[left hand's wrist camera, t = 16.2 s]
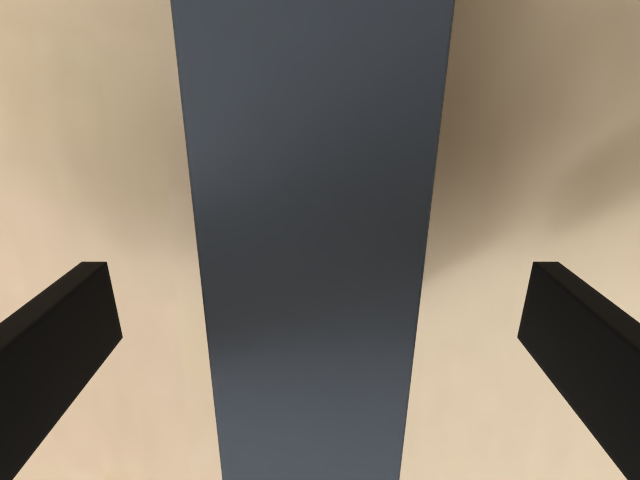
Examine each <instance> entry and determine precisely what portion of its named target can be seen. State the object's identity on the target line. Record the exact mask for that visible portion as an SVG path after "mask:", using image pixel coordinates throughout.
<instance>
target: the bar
mask: <svg viewBox="0 0 640 480" xmlns="http://www.w3.org/2000/svg"><path fill="white" fill-rule="evenodd" d="M170 1H171V10H172V19H173V28H174V38H175V47H176V56H177V65H178V74H179V84H180V93H181V102H182V111H183V120H184V130H185V139H186V148H187V157H188V167H189V176H190V185H191V194H192V203H193V213H194V222H195V231H196V240H197V249H198V259H199V268H200V277H201V286H202V295H203V305H204V314H205V323H206V332H207V341H208V351H209V360H210V369H211V378H212V387H213V397H214V406H215V415H216V424H217V433H218V443H219V452H220V461H221V470H222V479H223V480H399V477H400V469H401V460H402V452H403V443H404V434H405V426H406V417H407V409H408V400H409V391H410V383H411V374H412V366H413V357H414V348H415V340H416V331H417V323H418V314H419V305H420V297H421V288H422V279H423V271H424V262H425V254H426V245H427V236H428V228H429V219H430V211H431V202H432V193H433V185H434V176H435V168H436V159H437V150H438V142H439V133H440V125H441V116H442V107H443V99H444V90H445V82H446V73H447V64H448V56H449V47H450V38H451V30H452V21H453V13H454V4H455V0H170Z"/></svg>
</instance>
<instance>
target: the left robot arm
mask: <svg viewBox="0 0 640 480" xmlns="http://www.w3.org/2000/svg"><path fill="white" fill-rule="evenodd" d="M122 338H123V336H122V332H121V327H120V322H119V318H118V313H117V308H116V303H115V299H114V294H113V289H112V284H111V280H110V275H109V270H108V266H107V262H81V263H80V264H78V265H77V266H76V267H74V268H73V269H72V270H70V271H69V272H68V273H66V274H65V275H64V276H62V277H61V278H60V279H58V280H57V281H56V282H54V283H53V284H52V285H50V286H49V287H48V288H46V289H45V290H44V291H42V292H41V293H40V294H38V295H37V296H36V297H34V298H33V299H32V300H30V301H29V302H28V303H26V304H25V305H24V306H22V307H21V308H20V309H18V310H17V311H16V312H14V313H13V314H12V315H10V316H9V317H8V318H6V319H5V320H4V321H2V322H1V323H0V480H13V478H14V477H15V476H16V475H17V473H18V472H19V471H20V469H21V468H22V467H23V466H24V464H25V463H26V462H27V460H28V459H29V458H30V456H31V455H32V454H33V453H34V451H35V450H36V449H37V447H38V446H39V445H40V444H41V442H42V441H43V440H44V438H45V437H46V436H47V435H48V433H49V432H50V431H51V429H52V428H53V427H54V425H55V424H56V423H57V422H58V420H59V419H60V418H61V416H62V415H63V414H64V413H65V411H66V410H67V409H68V407H69V406H70V405H71V404H72V402H73V401H74V400H75V398H76V397H77V396H78V395H79V393H80V392H81V391H82V389H83V388H84V387H85V385H86V384H87V383H88V382H89V380H90V379H91V378H92V376H93V375H94V374H95V373H96V371H97V370H98V369H99V367H100V366H101V365H102V364H103V362H104V361H105V360H106V358H107V357H108V356H109V355H110V353H111V352H112V351H113V349H114V348H115V347H116V345H117V344H118V343H119V342H120V340H121V339H122ZM517 338H518V339H519V340H520V342H521V343H522V344H523V345H524V347H525V348H526V349H527V351H528V352H529V353H530V355H531V356H532V357H533V358H534V360H535V361H536V362H537V364H538V365H539V366H540V367H541V369H542V370H543V371H544V373H545V374H546V375H547V376H548V378H549V379H550V380H551V382H552V383H553V384H554V385H555V387H556V388H557V389H558V391H559V392H560V393H561V395H562V396H563V397H564V398H565V400H566V401H567V402H568V404H569V405H570V406H571V407H572V409H573V410H574V411H575V413H576V414H577V415H578V416H579V418H580V419H581V420H582V422H583V423H584V424H585V425H586V427H587V428H588V429H589V431H590V432H591V433H592V435H593V436H594V437H595V438H596V440H597V441H598V442H599V444H600V445H601V446H602V447H603V449H604V450H605V451H606V453H607V454H608V455H609V456H610V458H611V459H612V460H613V462H614V463H615V464H616V466H617V467H618V468H619V469H620V471H621V472H622V473H623V475H624V476H625V477H626V478H627V480H640V323H639V322H638V321H636V320H635V319H634V318H632V317H631V316H630V315H628V314H627V313H626V312H624V311H623V310H622V309H620V308H619V307H618V306H616V305H615V304H614V303H612V302H611V301H610V300H608V299H607V298H606V297H604V296H603V295H602V294H600V293H599V292H598V291H596V290H595V289H594V288H592V287H591V286H590V285H588V284H587V283H586V282H584V281H583V280H582V279H580V278H579V277H578V276H576V275H575V274H574V273H572V272H571V271H570V270H568V269H567V268H566V267H564V266H563V265H562V264H560V263H559V262H533V266H532V270H531V275H530V280H529V284H528V289H527V294H526V299H525V303H524V308H523V313H522V318H521V322H520V327H519V332H518V336H517Z"/></svg>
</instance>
